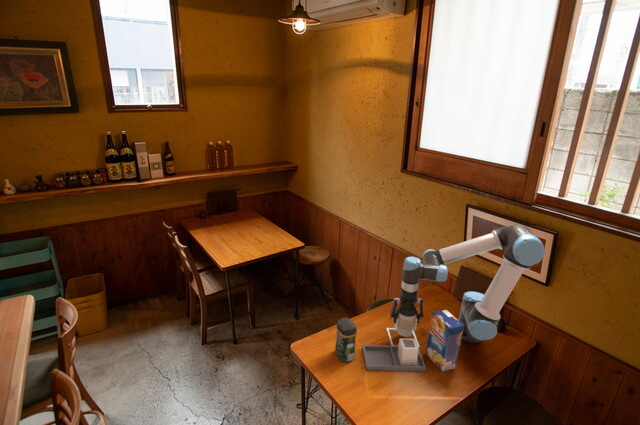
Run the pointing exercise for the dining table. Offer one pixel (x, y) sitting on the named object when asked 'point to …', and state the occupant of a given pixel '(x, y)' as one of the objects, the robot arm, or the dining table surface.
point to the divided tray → (388, 359)
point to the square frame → (397, 330)
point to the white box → (407, 351)
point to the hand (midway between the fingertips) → (405, 328)
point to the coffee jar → (345, 339)
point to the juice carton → (444, 340)
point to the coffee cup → (406, 321)
